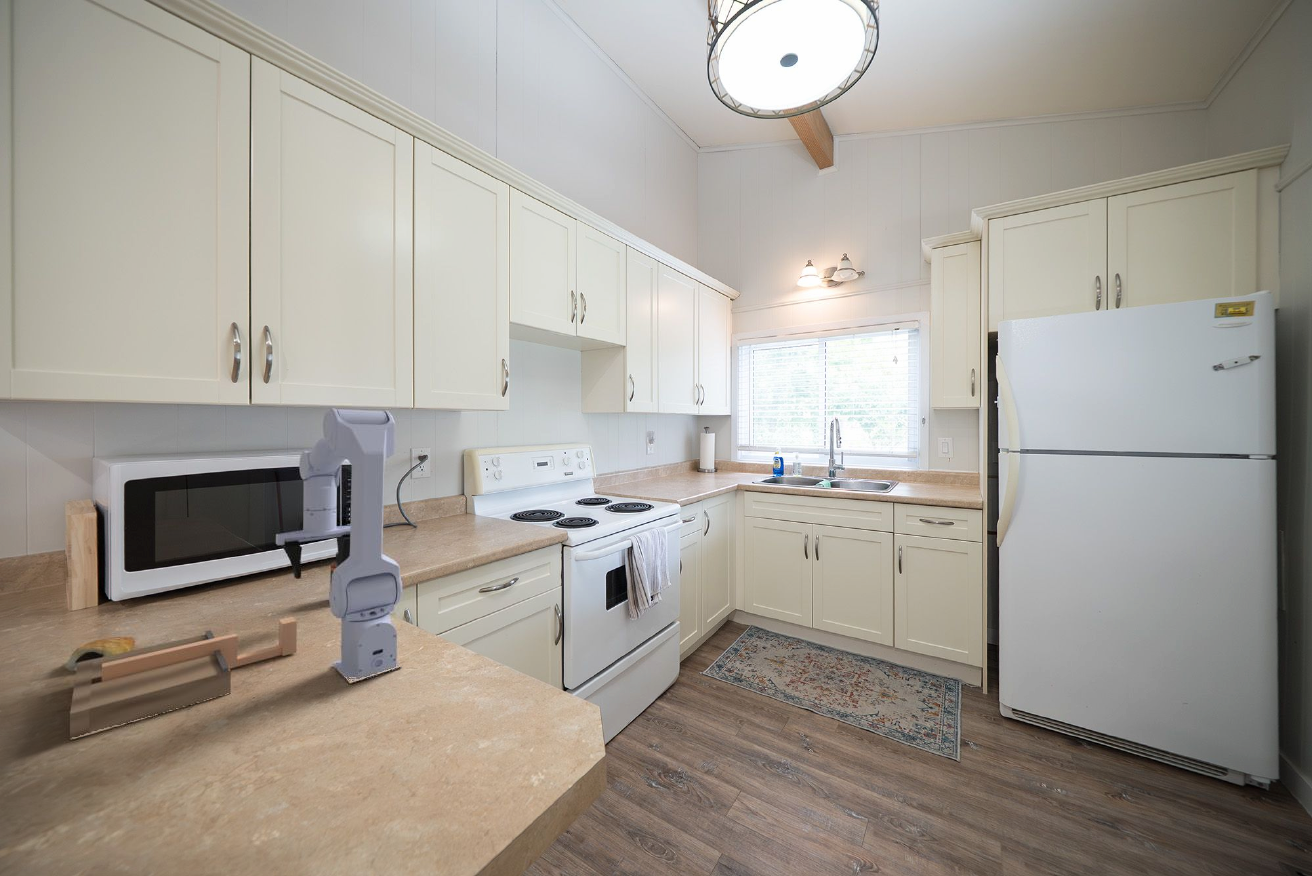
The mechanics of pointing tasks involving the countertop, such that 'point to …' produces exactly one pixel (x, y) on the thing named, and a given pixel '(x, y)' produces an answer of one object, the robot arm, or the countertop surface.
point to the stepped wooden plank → (203, 653)
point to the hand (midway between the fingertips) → (319, 573)
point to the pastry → (100, 650)
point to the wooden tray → (144, 688)
